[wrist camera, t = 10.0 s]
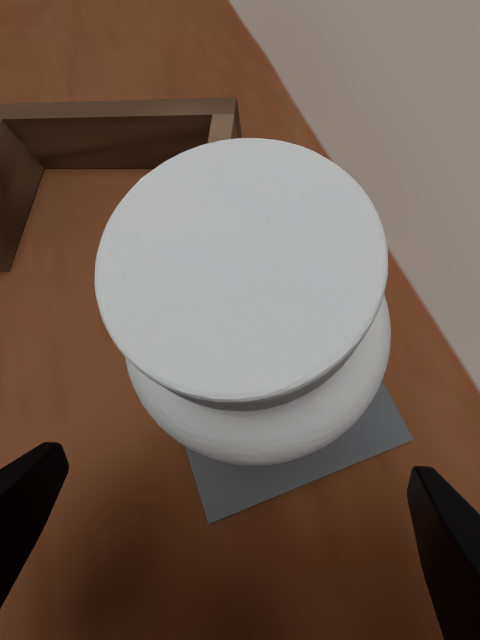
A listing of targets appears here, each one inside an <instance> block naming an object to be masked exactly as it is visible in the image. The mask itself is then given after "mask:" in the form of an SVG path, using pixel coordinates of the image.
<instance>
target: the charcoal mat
mask: <svg viewBox="0 0 480 640" xmlns="http://www.w3.org/2000/svg"><path fill="white" fill-rule="evenodd" d="M411 440H414V439H413V437H412V435H411V433H410V431H409V429H408V427H407V425H406V424H405V422H404V420H403V418H402V416H401V414H400V412H399V410H398V409H397V407H396V405H395V403H394V401H393V399H392V397H391V395H390V394H389V392H388V390H387V388H386V386H385V384H384V382H383V381H381V384H380V387H379V389H378V391H377V393H376V395H375V397H374V398H373V400H372V402H371V403H370V405H369V406H368V408H367V409H366V410H365V412H364V413H363V414H362V416H361V417H360V418H359V419H358V420H357V422H356V423H355V424H354V425H353V426H352V427H351V428H350V429H348V430H347V431H346V432H345V433H344V434H343V435H342V436H340V437H339V438H337V439H336V440H335V441H333V442H332V443H330V444H329V445H327V446H326V447H324V448H322V449H320V450H318V451H316V452H314V453H312V454H309V455H307V456H304V457H302V458H299V459H296V460H293V461H289V462H285V463H281V464H275V465H267V466H243V465H235V464H229V463H225V462H221V461H217V460H213V459H211V458H208V457H206V456H203V455H201V454H199V453H197V452H195V451H193V450H191V449H189V448H187V447H185V449H186V452H187V455H188V459H189V462H190V465H191V469H192V472H193V475H194V478H195V482H196V485H197V488H198V492H199V495H200V498H201V501H202V505H203V508H204V511H205V515H206V518H207V521H208V524H210V523H213V522H215V521H217V520H220V519H222V518H225V517H227V516H230V515H232V514H234V513H237V512H239V511H242V510H244V509H247V508H249V507H251V506H254V505H256V504H259V503H261V502H264V501H266V500H268V499H271V498H273V497H276V496H278V495H280V494H283V493H285V492H288V491H290V490H293V489H295V488H297V487H300V486H302V485H305V484H307V483H310V482H312V481H314V480H317V479H319V478H322V477H324V476H327V475H329V474H331V473H334V472H336V471H339V470H341V469H344V468H346V467H348V466H351V465H353V464H356V463H358V462H360V461H363V460H365V459H368V458H370V457H373V456H375V455H377V454H380V453H382V452H385V451H387V450H390V449H392V448H394V447H397V446H399V445H402V444H404V443H407V442H409V441H411Z"/></svg>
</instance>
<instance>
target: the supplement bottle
mask: <svg viewBox="0 0 480 640" xmlns="http://www.w3.org/2000/svg"><path fill="white" fill-rule="evenodd" d="M387 277H388V251H387V243H386V238H385V233H384V230H383V227H382V223H381V220H380V218H379V216H378V214H377V212H376V209H375V208H374V206H373V204H372V202H371V200H370V199H369V197H368V196H367V195H366V193H365V192H364V190H363V189H362V188H361V187H360V186H359V184H358V183H357V182H356V181H355V180H354V179H353V178H352V177H351V176H350V175H349V174H348V173H346V172H345V171H344V170H343V169H341V168H340V167H339V166H337V165H336V164H335V163H333V162H331V161H330V160H328V159H327V158H325V157H323V156H322V155H320V154H318V153H316V152H314V151H312V150H309V149H307V148H305V147H302V146H299V145H295V144H292V143H288V142H283V141H279V140H271V139H260V138H236V139H228V140H220V141H216V142H212V143H208V144H204V145H201V146H198V147H195V148H192V149H189V150H187V151H185V152H182V153H180V154H178V155H176V156H174V157H172V158H170V159H169V160H167V161H165V162H163V163H162V164H161V165H159V166H158V167H156V168H155V169H154V170H152V171H151V172H149V173H148V174H147V175H145V176H144V177H142V178H141V179H140V180H139V181H138V182H137V183H136V184H135V185H134V186H133V188H132V189H131V190H130V191H129V192H128V193H127V194H126V196H125V197H124V198H123V199H122V200H121V202H120V203H119V204H118V206H117V207H116V209H115V210H114V212H113V214H112V216H111V217H110V219H109V221H108V223H107V225H106V227H105V230H104V232H103V235H102V238H101V241H100V244H99V248H98V251H97V257H96V262H95V294H96V299H97V303H98V306H99V310H100V314H101V317H102V320H103V322H104V325H105V327H106V329H107V331H108V333H109V334H110V336H111V338H112V340H113V341H114V343H115V344H116V346H117V347H118V349H119V350H120V352H121V353H122V354H123V355H124V356H125V359H126V365H127V369H128V373H129V376H130V379H131V382H132V384H133V387H134V389H135V391H136V393H137V395H138V397H139V399H140V401H141V403H142V405H143V406H144V407H145V409H146V410H147V412H148V413H149V414H150V416H151V417H152V418H153V419H154V420H155V422H156V423H157V424H158V425H159V426H160V427H161V428H162V429H163V430H164V431H165V432H166V433H167V434H169V435H170V436H171V437H173V438H174V439H175V440H176V441H178V442H179V443H181V444H182V445H184V446H185V447H187V448H189V449H191V450H193V451H195V452H197V453H199V454H201V455H203V456H206V457H208V458H211V459H213V460H217V461H221V462H225V463H229V464H235V465H243V466H267V465H275V464H281V463H285V462H289V461H293V460H296V459H299V458H302V457H304V456H307V455H309V454H312V453H314V452H316V451H318V450H320V449H322V448H324V447H326V446H327V445H329V444H330V443H332V442H333V441H335V440H336V439H337V438H339V437H340V436H342V435H343V434H344V433H345V432H346V431H347V430H348V429H350V428H351V427H352V426H353V425H354V424H355V423H356V422H357V420H358V419H359V418H360V417H361V416H362V414H363V413H364V412H365V410H366V409H367V408H368V406H369V405H370V403H371V402H372V400H373V398H374V397H375V395H376V393H377V391H378V389H379V387H380V384H381V381H382V379H383V376H384V373H385V370H386V367H387V363H388V357H389V352H390V338H391V328H390V318H389V312H388V306H387V302H386V299H385V295H384V292H385V288H386V282H387Z"/></svg>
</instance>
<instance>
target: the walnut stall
mask: <svg viewBox="0 0 480 640" xmlns="http://www.w3.org/2000/svg"><path fill="white" fill-rule="evenodd" d="M236 138H242V133H241V126H240V118H239V111H238V103H237V97H229V98H194V99H160V100H125V101H91V102H56V103H22V104H0V271H9V269H10V266H11V264H12V261H13V258H14V255H15V252H16V249H17V246H18V243H19V240H20V237H21V234H22V232H23V229H24V226H25V223H26V220H27V217H28V214H29V211H30V208H31V205H32V202H33V199H34V197H35V194H36V191H37V188H38V185H39V182H40V179H41V176H42V173H43V170H44V168H156V167H158V166H159V165H161V164H162V163H163V162H165V161H167V160H169V159H170V158H172V157H174V156H176V155H178V154H180V153H182V152H185V151H187V150H189V149H192V148H195V147H198V146H201V145H204V144H208V143H212V142H216V141H220V140H228V139H236Z"/></svg>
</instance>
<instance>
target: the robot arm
mask: <svg viewBox="0 0 480 640" xmlns="http://www.w3.org/2000/svg"><path fill="white" fill-rule="evenodd" d="M68 470H69V464H68V461H67V458H66V455H65V452H64V450H63V447H62V445H61V444H60V443H57V442H44V443H42V444H40V445H39V446H37V447H35V448H34V449H32V450H31V451H29V452H27V453H26V454H24V455H22V456H21V457H19V458H18V459H16V460H14V461H13V462H11V463H10V464H8V465H6V466H5V467H3V468H2V469H0V608H1V606H2V605H3V603H4V601H5V599H6V597H7V595H8V594H9V592H10V590H11V588H12V586H13V584H14V583H15V581H16V579H17V577H18V575H19V573H20V572H21V570H22V568H23V566H24V564H25V562H26V561H27V559H28V557H29V555H30V553H31V551H32V549H33V548H34V546H35V544H36V542H37V540H38V538H39V536H40V534H41V533H42V531H43V528H44V526H45V524H46V522H47V520H48V518H49V515H50V513H51V511H52V508H53V506H54V504H55V501H56V499H57V497H58V495H59V492H60V490H61V488H62V485H63V483H64V481H65V478H66V476H67V474H68ZM407 498H408V504H409V508H410V513H411V518H412V523H413V528H414V533H415V537H416V542H417V547H418V552H419V557H420V561H421V566H422V570H423V574H424V577H425V581H426V584H427V587H428V590H429V594H430V597H431V600H432V603H433V606H434V609H435V613H436V616H437V619H438V622H439V625H440V628H441V632H442V635H443V638H444V640H480V514H479V513H478V512H477V511H476V510H475V509H474V508H473V507H472V506H471V505H470V504H469V503H468V502H467V501H466V500H465V499H464V498H463V497H462V496H461V495H460V494H459V493H458V492H457V491H456V490H455V489H454V488H453V487H452V486H451V485H450V484H449V483H448V482H447V481H446V480H445V479H444V478H443V477H442V476H441V475H440V474H439V473H438V472H437V471H436V470H435V469H433V468H432V467H426V466H414V467H413V468H412V471H411V475H410V480H409V484H408V489H407Z"/></svg>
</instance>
